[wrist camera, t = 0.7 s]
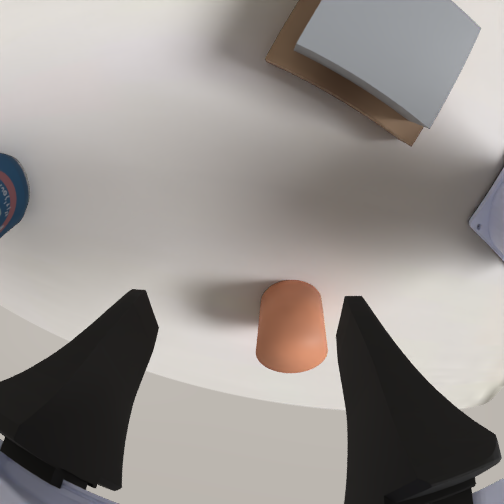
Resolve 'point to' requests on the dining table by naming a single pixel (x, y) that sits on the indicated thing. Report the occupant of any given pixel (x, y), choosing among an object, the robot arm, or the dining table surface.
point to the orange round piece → (291, 328)
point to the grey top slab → (393, 49)
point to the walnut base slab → (333, 76)
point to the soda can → (12, 192)
